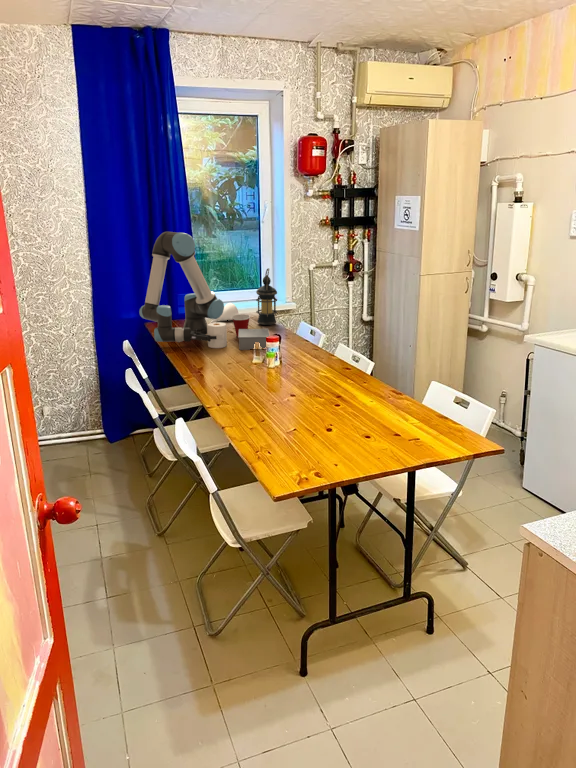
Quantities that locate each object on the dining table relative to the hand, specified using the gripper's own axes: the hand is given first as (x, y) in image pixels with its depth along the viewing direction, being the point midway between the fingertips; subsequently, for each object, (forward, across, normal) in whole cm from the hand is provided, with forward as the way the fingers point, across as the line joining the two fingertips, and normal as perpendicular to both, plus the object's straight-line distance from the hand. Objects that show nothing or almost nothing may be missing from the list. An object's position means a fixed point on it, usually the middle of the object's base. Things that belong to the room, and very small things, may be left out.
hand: (223, 334), depth 325 cm
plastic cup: (+10, -20, -7) cm, 23 cm away
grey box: (+17, 0, -6) cm, 18 cm away
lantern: (+26, -50, -7) cm, 56 cm away
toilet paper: (-3, 0, -7) cm, 8 cm away
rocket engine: (-3, -61, -7) cm, 62 cm away
